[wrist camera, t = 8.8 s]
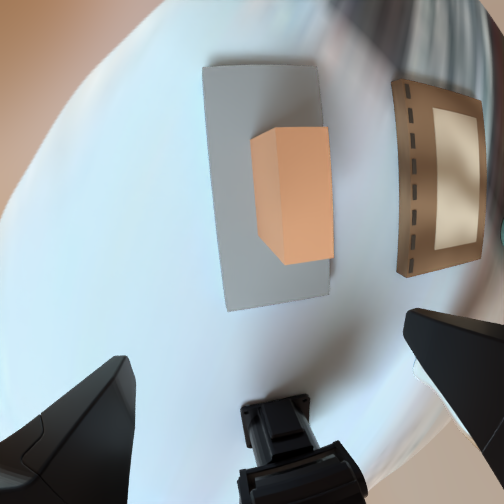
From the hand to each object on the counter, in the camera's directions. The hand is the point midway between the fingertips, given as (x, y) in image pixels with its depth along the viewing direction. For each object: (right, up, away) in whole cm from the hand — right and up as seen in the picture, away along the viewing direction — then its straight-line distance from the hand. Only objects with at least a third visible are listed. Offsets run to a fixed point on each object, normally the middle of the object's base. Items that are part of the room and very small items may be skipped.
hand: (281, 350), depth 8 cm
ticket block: (+16, +9, +14) cm, 23 cm away
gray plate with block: (0, +7, +11) cm, 13 cm away
